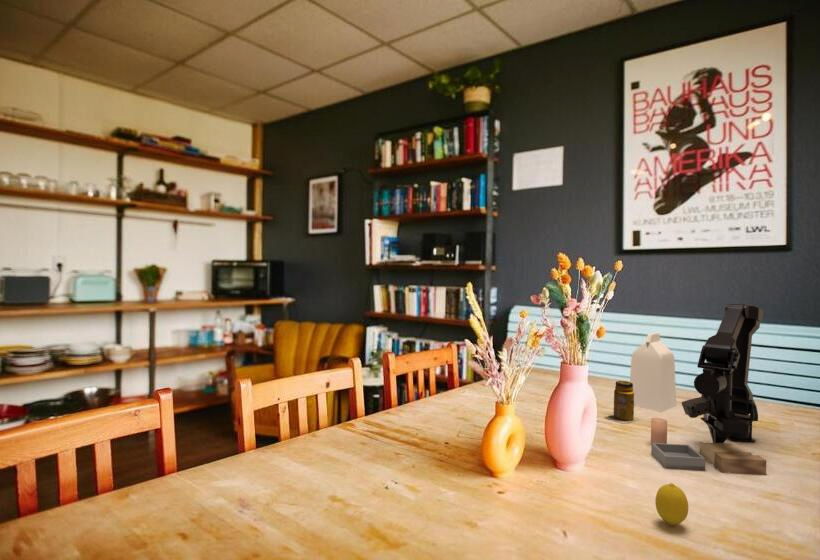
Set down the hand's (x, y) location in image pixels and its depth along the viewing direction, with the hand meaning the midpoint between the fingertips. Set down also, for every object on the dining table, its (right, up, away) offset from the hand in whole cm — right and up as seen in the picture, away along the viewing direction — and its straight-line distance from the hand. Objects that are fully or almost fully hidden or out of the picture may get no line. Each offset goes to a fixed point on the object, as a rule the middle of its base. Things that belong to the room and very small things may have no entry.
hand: (717, 448), depth 126 cm
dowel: (-12, -1, +7) cm, 14 cm away
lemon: (-32, -3, -35) cm, 47 cm away
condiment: (-12, -1, +30) cm, 32 cm away
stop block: (-1, -2, -10) cm, 11 cm away
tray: (-14, -2, -5) cm, 15 cm away
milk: (+6, -1, +46) cm, 46 cm away
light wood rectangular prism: (-1, -2, -4) cm, 5 cm away
